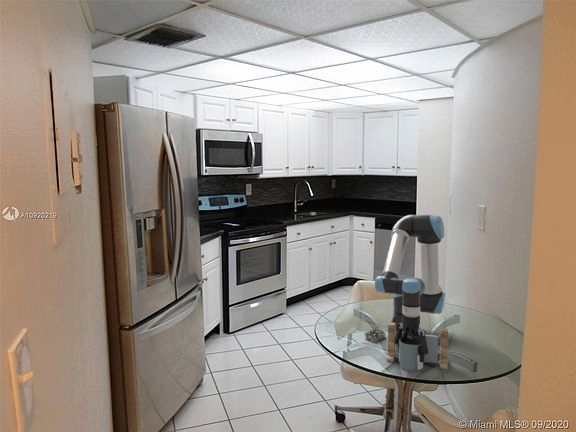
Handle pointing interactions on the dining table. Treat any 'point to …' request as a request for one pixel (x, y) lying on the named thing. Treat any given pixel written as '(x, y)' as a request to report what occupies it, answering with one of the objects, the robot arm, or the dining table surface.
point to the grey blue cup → (408, 354)
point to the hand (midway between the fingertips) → (410, 364)
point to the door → (432, 349)
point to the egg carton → (372, 337)
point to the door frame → (393, 346)
